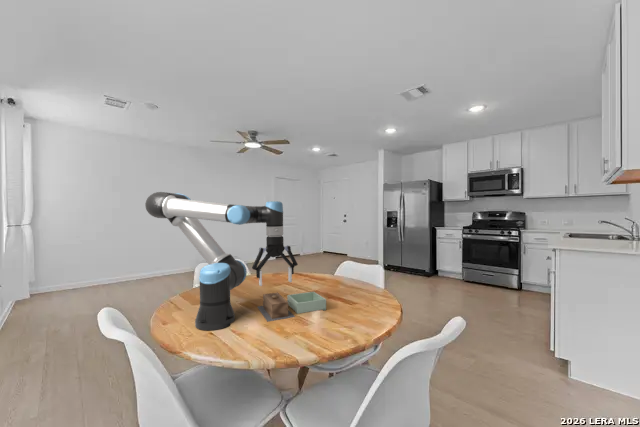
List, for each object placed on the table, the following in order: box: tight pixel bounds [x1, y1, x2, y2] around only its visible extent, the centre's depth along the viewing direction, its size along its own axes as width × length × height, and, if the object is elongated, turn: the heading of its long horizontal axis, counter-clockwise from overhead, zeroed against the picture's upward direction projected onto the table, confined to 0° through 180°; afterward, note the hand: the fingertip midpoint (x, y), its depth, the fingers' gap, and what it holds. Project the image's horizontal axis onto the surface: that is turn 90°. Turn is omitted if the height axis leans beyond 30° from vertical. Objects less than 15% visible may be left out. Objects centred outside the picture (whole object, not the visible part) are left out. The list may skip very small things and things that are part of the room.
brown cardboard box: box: [262, 292, 289, 319], centre depth 122 cm, size 7×16×7 cm, turn 25°
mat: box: [256, 305, 296, 323], centre depth 122 cm, size 12×20×1 cm, turn 25°
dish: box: [286, 291, 327, 315], centre depth 129 cm, size 14×14×5 cm
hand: (275, 283), depth 122 cm, fingers open, 13 cm apart
